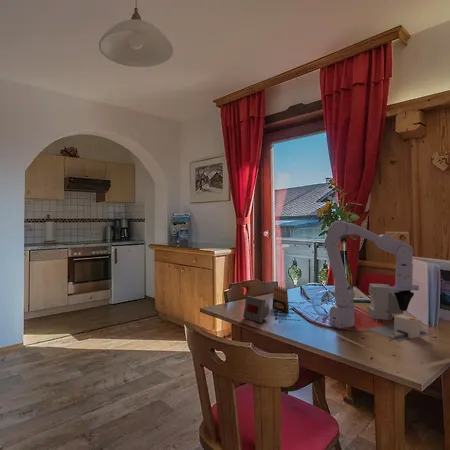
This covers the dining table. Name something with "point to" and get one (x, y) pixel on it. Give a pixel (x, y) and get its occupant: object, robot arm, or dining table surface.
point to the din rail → (401, 334)
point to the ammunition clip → (280, 299)
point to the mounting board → (390, 329)
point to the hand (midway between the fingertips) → (403, 310)
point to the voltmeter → (261, 309)
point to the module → (407, 325)
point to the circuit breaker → (382, 302)
